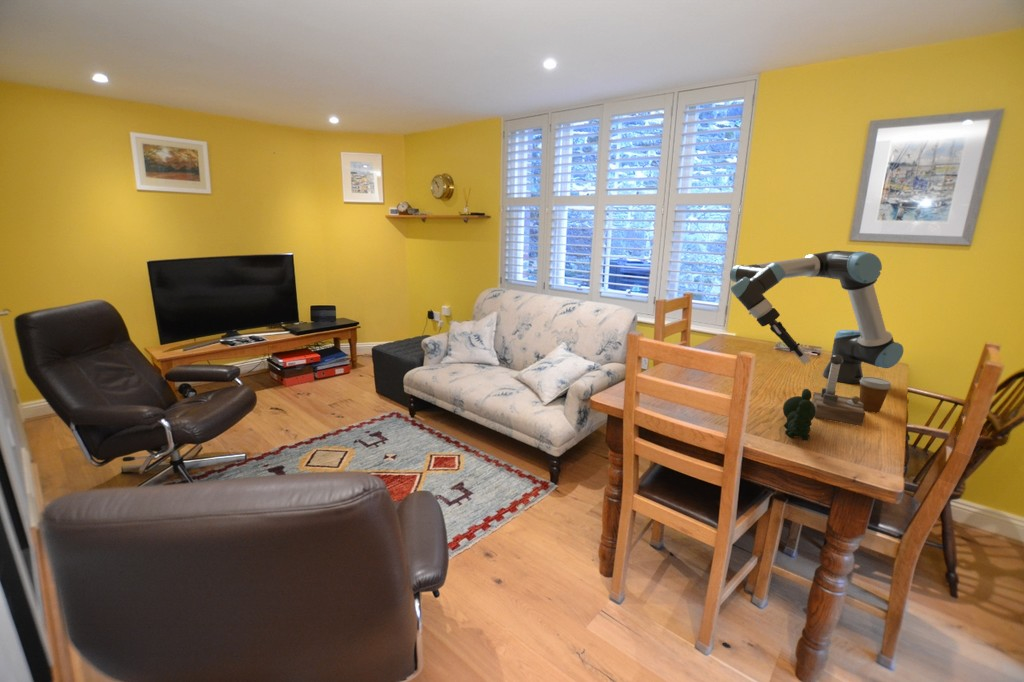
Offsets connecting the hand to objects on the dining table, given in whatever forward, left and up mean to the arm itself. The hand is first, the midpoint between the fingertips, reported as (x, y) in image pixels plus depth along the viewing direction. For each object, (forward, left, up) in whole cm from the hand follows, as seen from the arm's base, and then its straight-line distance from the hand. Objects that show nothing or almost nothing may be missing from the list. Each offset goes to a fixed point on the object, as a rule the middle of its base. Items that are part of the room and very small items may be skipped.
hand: (807, 362), depth 168 cm
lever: (0, +9, -12) cm, 15 cm away
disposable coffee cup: (-13, +24, -19) cm, 33 cm away
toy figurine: (+26, -2, -19) cm, 32 cm away
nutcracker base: (0, +12, -19) cm, 22 cm away
